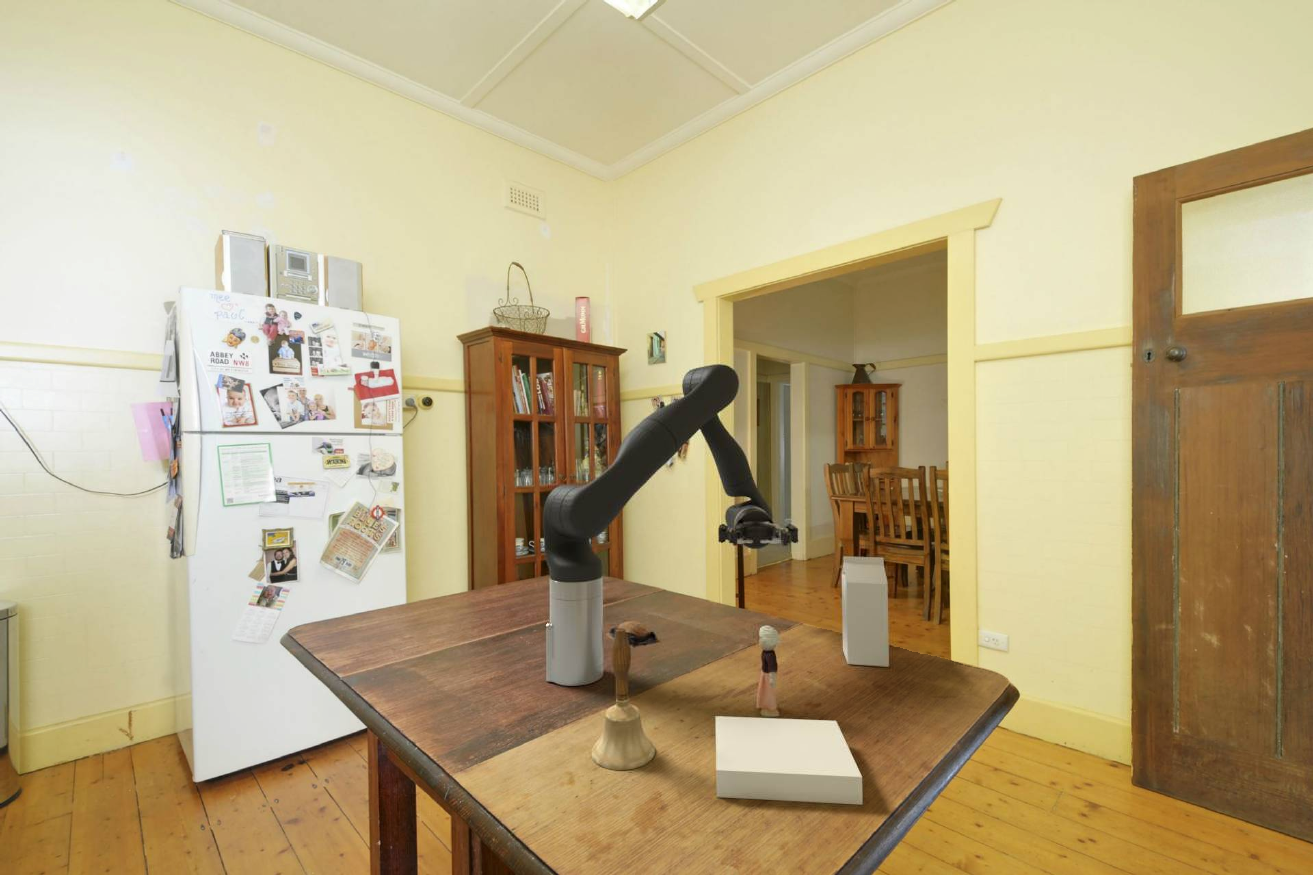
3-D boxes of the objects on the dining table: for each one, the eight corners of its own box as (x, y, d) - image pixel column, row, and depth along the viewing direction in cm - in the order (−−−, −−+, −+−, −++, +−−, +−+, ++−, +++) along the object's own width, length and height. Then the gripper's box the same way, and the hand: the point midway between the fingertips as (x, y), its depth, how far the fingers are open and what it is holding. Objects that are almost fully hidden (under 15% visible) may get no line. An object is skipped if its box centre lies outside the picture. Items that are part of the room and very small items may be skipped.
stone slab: (716, 797, 64) (716, 770, 64) (715, 738, 76) (715, 716, 77) (862, 804, 62) (862, 777, 62) (836, 743, 75) (836, 720, 75)
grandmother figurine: (750, 701, 88) (749, 619, 88) (774, 700, 88) (773, 618, 88) (763, 725, 80) (762, 635, 80) (789, 723, 81) (788, 634, 81)
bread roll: (602, 637, 120) (602, 620, 120) (636, 630, 125) (635, 613, 125) (628, 651, 112) (627, 633, 112) (663, 643, 116) (662, 625, 116)
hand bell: (609, 778, 67) (608, 644, 68) (580, 747, 74) (580, 626, 75) (667, 757, 72) (666, 632, 72) (635, 730, 79) (634, 616, 79)
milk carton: (889, 667, 101) (887, 561, 101) (847, 665, 102) (845, 560, 103) (881, 653, 108) (879, 554, 108) (842, 651, 109) (841, 553, 110)
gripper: (717, 507, 114) (718, 517, 97) (789, 507, 112) (802, 517, 96) (718, 545, 113) (719, 561, 97) (790, 545, 112) (803, 562, 96)
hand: (760, 539), depth 97 cm, fingers open, 8 cm apart
